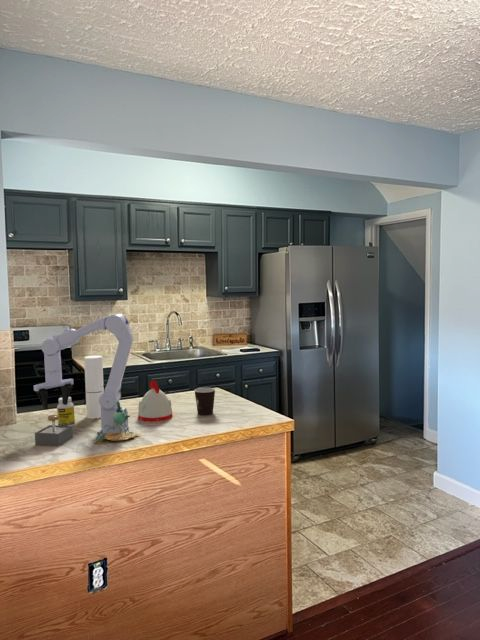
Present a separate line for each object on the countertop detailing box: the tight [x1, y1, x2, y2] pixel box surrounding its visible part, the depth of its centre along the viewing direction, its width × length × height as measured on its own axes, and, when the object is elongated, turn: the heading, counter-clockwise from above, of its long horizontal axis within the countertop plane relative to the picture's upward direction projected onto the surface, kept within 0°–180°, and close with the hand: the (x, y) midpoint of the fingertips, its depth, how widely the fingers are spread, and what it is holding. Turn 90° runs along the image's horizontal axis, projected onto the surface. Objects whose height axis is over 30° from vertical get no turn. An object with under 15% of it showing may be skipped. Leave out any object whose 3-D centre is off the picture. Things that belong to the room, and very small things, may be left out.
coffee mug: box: [194, 387, 216, 417], centre depth 206 cm, size 12×9×10 cm
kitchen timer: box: [137, 380, 173, 423], centre depth 201 cm, size 14×14×15 cm
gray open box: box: [34, 424, 74, 447], centre depth 173 cm, size 9×10×4 cm
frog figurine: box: [93, 400, 143, 445], centre depth 175 cm, size 10×18×15 cm, turn 115°
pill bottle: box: [56, 396, 76, 427], centre depth 190 cm, size 6×6×11 cm
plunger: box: [40, 414, 67, 434], centre depth 172 cm, size 7×7×5 cm
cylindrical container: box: [83, 355, 105, 420], centre depth 202 cm, size 7×7×25 cm
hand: (55, 406), depth 182 cm, fingers open, 7 cm apart
